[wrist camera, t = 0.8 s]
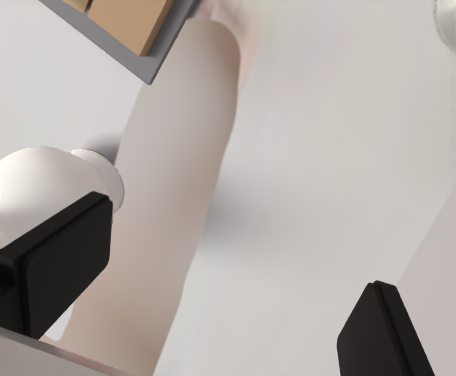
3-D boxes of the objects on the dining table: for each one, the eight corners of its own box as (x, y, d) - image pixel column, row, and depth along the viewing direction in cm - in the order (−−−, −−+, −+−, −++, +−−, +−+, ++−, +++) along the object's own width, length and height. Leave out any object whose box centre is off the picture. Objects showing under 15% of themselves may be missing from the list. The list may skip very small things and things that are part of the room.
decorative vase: (118, 124, 46) (-54, 187, 24) (151, 225, 52) (39, 351, 30) (28, 141, 51) (-183, 206, 29) (69, 232, 57) (-80, 343, 35)
